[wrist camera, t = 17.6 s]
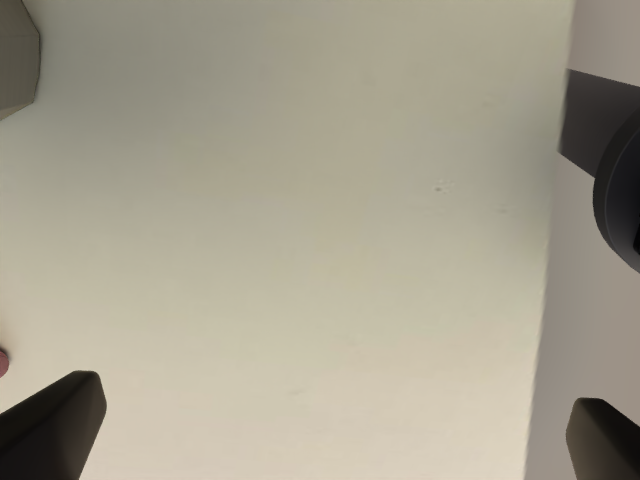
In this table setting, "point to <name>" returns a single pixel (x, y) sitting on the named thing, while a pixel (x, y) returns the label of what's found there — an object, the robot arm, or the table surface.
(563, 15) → the table surface
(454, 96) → the table surface
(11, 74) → the steel cup
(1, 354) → the video game controller
